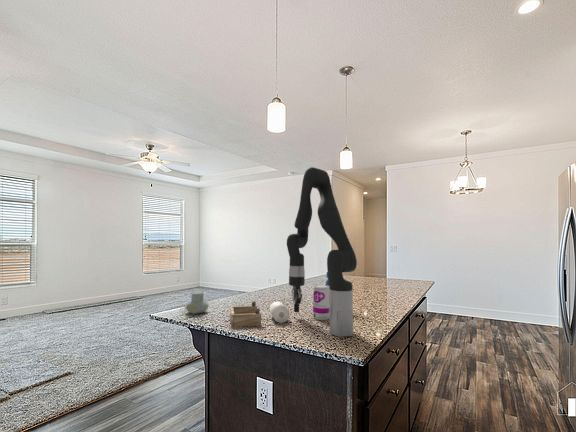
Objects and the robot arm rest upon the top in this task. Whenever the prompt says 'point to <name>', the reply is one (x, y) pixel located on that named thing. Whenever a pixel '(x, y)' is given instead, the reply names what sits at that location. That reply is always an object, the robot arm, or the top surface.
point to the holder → (245, 315)
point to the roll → (279, 312)
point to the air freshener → (197, 303)
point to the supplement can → (321, 302)
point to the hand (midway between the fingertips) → (296, 311)
